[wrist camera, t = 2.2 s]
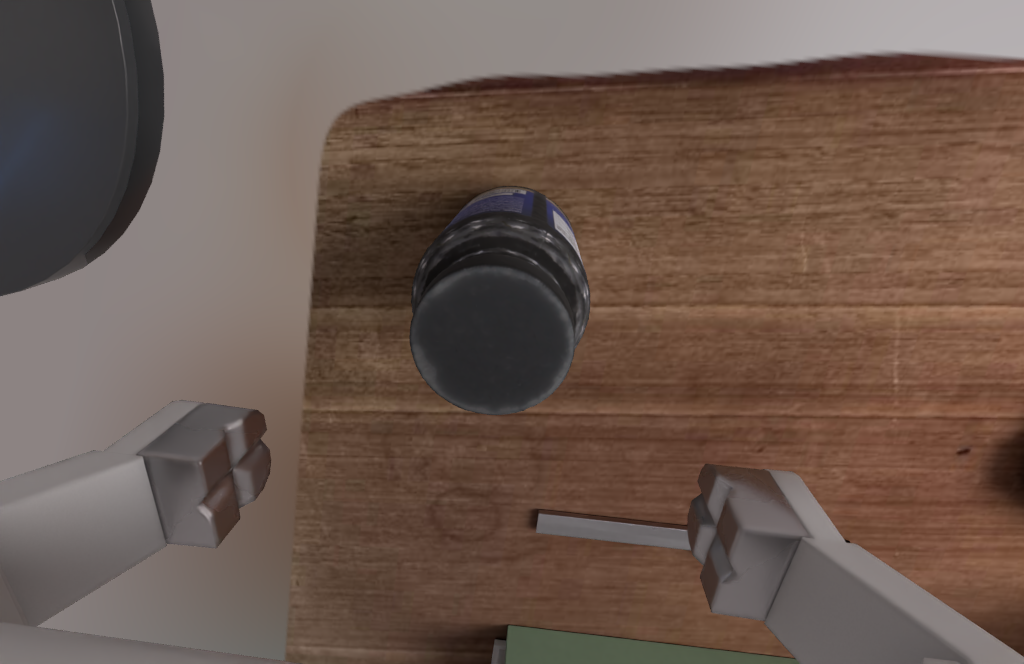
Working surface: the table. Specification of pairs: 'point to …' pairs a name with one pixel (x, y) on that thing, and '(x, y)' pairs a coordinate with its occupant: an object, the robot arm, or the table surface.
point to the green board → (614, 650)
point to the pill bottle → (499, 303)
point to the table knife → (613, 529)
